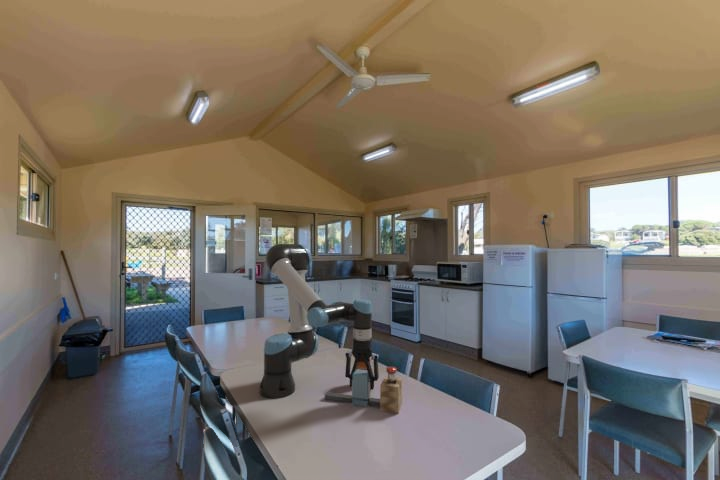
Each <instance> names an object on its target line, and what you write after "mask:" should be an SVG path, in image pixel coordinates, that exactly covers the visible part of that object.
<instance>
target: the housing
mask: <svg viewBox="0 0 720 480" xmlns="http://www.w3.org/2000/svg"><path fill="white" fill-rule="evenodd" d="M379 387H380V392H379V393H380V394H379V395H380V396H379V397H380V398H379V399H380V407H379V411H380V412H383V413H391V414H399V413H400V410H401V407H402V404H403V378H402V377H395V384H391V383H388V376H384V377H383V379H382V381H381V383H380V386H379Z"/></svg>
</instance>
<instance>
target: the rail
mask: <svg viewBox="0 0 720 480" xmlns="http://www.w3.org/2000/svg"><path fill="white" fill-rule="evenodd" d="M352 397H353V396H352V394H345V393H338V392H337V393H336V392H330V391H328V392H326V393H325V394H324V401H328V402H329V401H330V402H337V403H344V404H350V405H351V404H352ZM367 407H372V408H373V407H374V408H380V398H375V397H371V398H370V399H368V406H367Z"/></svg>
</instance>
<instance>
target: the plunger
mask: <svg viewBox="0 0 720 480" xmlns="http://www.w3.org/2000/svg"><path fill="white" fill-rule="evenodd" d="M385 370H386V373H387V377H388V383H391V384H395V378H396V373H397V372H398V371H397V367H395V366H387V367H386V368H385Z"/></svg>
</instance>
